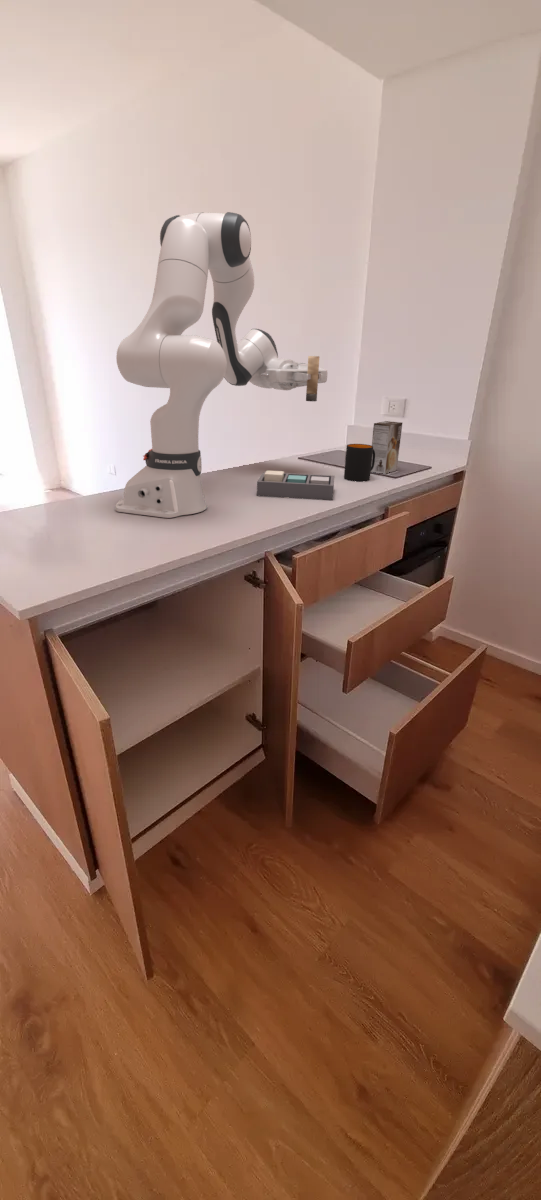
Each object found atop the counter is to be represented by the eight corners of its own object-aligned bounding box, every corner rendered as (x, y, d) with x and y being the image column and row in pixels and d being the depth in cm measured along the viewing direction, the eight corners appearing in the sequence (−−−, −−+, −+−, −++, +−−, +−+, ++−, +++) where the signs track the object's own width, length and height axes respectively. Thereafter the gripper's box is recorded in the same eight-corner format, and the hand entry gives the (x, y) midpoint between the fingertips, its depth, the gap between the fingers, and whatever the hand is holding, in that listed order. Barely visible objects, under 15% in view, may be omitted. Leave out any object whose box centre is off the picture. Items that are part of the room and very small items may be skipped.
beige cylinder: (305, 401, 153) (308, 356, 148) (306, 400, 156) (308, 355, 150) (316, 401, 153) (319, 356, 147) (316, 400, 155) (319, 356, 150)
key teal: (287, 489, 147) (287, 478, 145) (288, 485, 151) (289, 475, 150) (304, 490, 146) (305, 479, 145) (305, 486, 151) (306, 475, 149)
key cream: (264, 484, 147) (264, 474, 145) (266, 480, 151) (266, 470, 150) (281, 485, 146) (282, 474, 145) (283, 481, 151) (284, 471, 149)
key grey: (310, 490, 146) (310, 480, 145) (311, 486, 150) (311, 476, 149) (327, 491, 145) (328, 481, 144) (328, 487, 150) (329, 477, 149)
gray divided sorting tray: (256, 495, 144) (257, 481, 143) (263, 485, 156) (263, 471, 154) (332, 500, 142) (333, 485, 140) (333, 489, 154) (334, 475, 152)
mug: (382, 478, 169) (386, 445, 165) (357, 482, 162) (361, 448, 158) (363, 473, 175) (366, 442, 171) (338, 478, 168) (341, 445, 164)
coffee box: (380, 468, 185) (385, 420, 178) (397, 470, 181) (403, 422, 174) (368, 472, 178) (373, 422, 171) (385, 474, 174) (391, 424, 168)
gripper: (257, 363, 153) (287, 364, 143) (309, 363, 165) (340, 365, 155) (257, 386, 156) (286, 389, 146) (308, 385, 167) (338, 388, 158)
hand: (314, 377), depth 151 cm, fingers closed on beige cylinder, 3 cm apart
